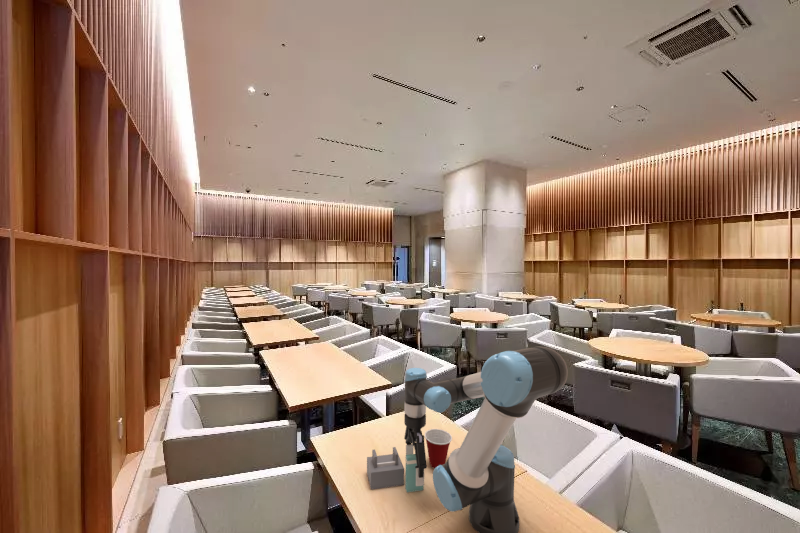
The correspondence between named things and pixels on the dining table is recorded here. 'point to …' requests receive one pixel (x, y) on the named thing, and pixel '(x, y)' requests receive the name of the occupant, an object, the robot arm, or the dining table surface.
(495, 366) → the robot arm
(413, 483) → the teal flat box
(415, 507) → the dining table surface
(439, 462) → the plastic cup
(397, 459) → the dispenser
